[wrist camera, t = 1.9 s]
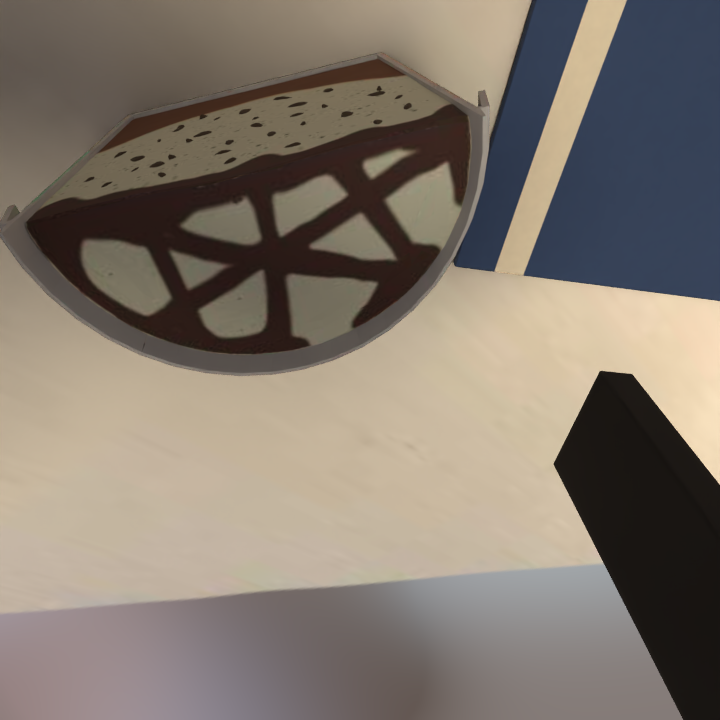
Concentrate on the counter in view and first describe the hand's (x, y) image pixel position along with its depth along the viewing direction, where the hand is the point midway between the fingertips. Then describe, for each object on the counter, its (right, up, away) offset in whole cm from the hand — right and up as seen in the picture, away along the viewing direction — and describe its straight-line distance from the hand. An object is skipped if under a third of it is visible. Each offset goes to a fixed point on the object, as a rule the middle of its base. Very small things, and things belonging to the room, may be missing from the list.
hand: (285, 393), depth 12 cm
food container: (-2, +8, +11) cm, 14 cm away
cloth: (+17, +9, +13) cm, 24 cm away
